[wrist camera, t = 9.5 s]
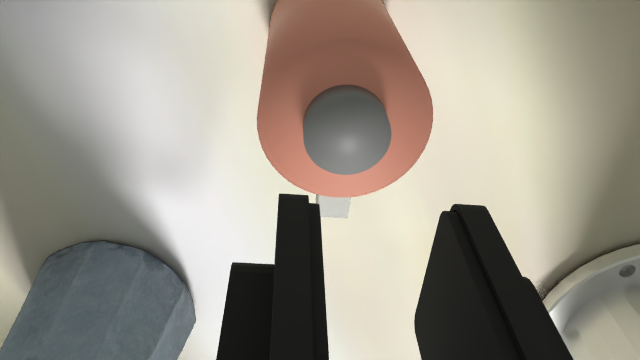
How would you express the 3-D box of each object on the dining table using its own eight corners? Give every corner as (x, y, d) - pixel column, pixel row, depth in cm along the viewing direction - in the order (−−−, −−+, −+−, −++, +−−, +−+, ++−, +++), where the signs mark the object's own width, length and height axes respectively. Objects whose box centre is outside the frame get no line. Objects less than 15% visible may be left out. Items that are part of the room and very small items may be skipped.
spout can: (396, -26, 22) (457, 55, 14) (375, 108, 25) (414, 241, 17) (272, -37, 22) (258, 39, 13) (266, 100, 25) (251, 232, 16)
